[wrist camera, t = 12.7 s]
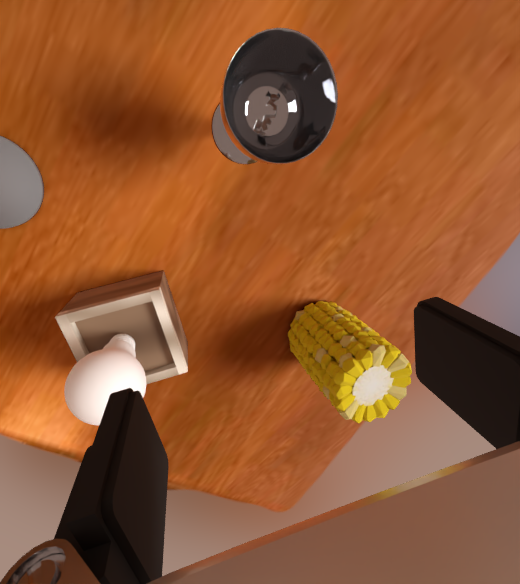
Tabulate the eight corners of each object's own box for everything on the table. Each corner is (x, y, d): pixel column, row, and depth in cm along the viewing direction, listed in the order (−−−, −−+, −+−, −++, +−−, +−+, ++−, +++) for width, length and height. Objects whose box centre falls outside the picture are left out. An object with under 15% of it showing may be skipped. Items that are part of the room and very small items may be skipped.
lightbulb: (106, 305, 33) (71, 363, 23) (163, 327, 35) (155, 390, 25) (82, 354, 34) (39, 430, 24) (139, 373, 36) (122, 451, 26)
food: (295, 289, 45) (352, 309, 49) (268, 369, 45) (327, 383, 49) (365, 309, 31) (439, 335, 34) (325, 426, 31) (402, 440, 35)
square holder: (77, 292, 38) (54, 316, 31) (163, 270, 39) (159, 289, 32) (109, 364, 41) (95, 399, 35) (187, 342, 42) (187, 371, 36)
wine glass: (293, 139, 37) (357, 117, 23) (238, 182, 37) (269, 187, 23) (252, 70, 34) (298, -3, 20) (192, 118, 34) (197, 79, 20)
